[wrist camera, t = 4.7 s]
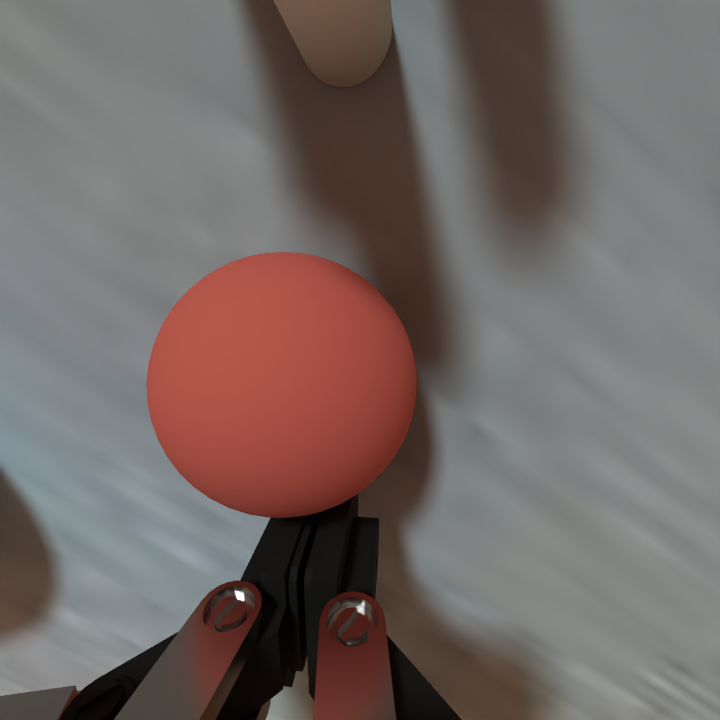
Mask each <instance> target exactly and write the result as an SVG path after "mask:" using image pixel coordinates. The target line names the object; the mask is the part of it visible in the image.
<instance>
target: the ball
mask: <svg viewBox="0 0 720 720" xmlns="http://www.w3.org/2000/svg"><path fill="white" fill-rule="evenodd" d="M416 393H417V372H416V366H415V359H414V354H413V351H412V347H411V344H410V341H409V338H408V335H407V333H406V331H405V328H404V326H403V324H402V322H401V320H400V318H399V317H398V315H397V314H396V312H395V311H394V309H393V307H392V306H391V305H390V304H389V303H388V301H387V300H386V299H385V298H384V297H383V296H382V294H381V293H380V292H379V291H378V290H377V289H376V288H375V287H373V286H372V285H371V284H370V283H369V282H368V281H367V280H365V279H364V278H363V277H361V276H360V275H358V274H356V273H355V272H353V271H352V270H350V269H348V268H346V267H344V266H342V265H340V264H337V263H335V262H332V261H330V260H327V259H325V258H321V257H318V256H313V255H308V254H302V253H287V252H279V253H265V254H258V255H253V256H249V257H246V258H243V259H240V260H237V261H234V262H232V263H229V264H227V265H224V266H222V267H220V268H219V269H217V270H215V271H214V272H212V273H210V274H209V275H207V276H205V277H204V278H202V279H201V280H200V281H199V282H198V283H196V284H195V285H194V286H193V287H192V288H190V289H189V290H188V291H187V292H186V293H185V294H184V295H183V297H182V298H181V299H180V300H179V301H178V302H177V303H176V305H175V306H174V307H173V308H172V310H171V311H170V313H169V315H168V316H167V318H166V319H165V321H164V323H163V325H162V327H161V329H160V331H159V334H158V336H157V338H156V341H155V343H154V345H153V349H152V353H151V357H150V360H149V366H148V375H147V400H148V407H149V412H150V417H151V422H152V424H153V427H154V430H155V433H156V435H157V438H158V441H159V442H160V444H161V446H162V448H163V450H164V452H165V453H166V455H167V457H168V458H169V460H170V461H171V462H172V464H173V465H174V466H175V468H176V469H177V470H178V472H179V473H180V474H181V475H182V476H183V477H184V478H185V479H186V480H187V481H188V482H189V483H190V484H191V485H192V486H193V487H195V488H196V489H198V490H199V491H200V492H202V493H203V494H205V495H206V496H207V497H209V498H210V499H212V500H214V501H216V502H218V503H220V504H222V505H224V506H226V507H228V508H231V509H234V510H237V511H240V512H243V513H247V514H251V515H257V516H264V517H271V518H287V517H298V516H305V515H310V514H314V513H318V512H321V511H324V510H326V509H329V508H332V507H334V506H337V505H339V504H341V503H343V502H345V501H346V500H348V499H350V498H352V497H353V496H355V495H357V494H358V493H360V492H361V491H362V490H363V489H365V488H366V487H367V486H369V485H370V484H371V483H372V482H373V481H374V480H375V479H376V478H377V477H378V476H379V475H380V474H381V473H382V472H383V471H384V470H385V469H386V468H387V466H388V465H389V464H390V462H391V461H392V459H393V458H394V457H395V455H396V454H397V452H398V450H399V448H400V447H401V445H402V443H403V441H404V439H405V437H406V434H407V432H408V429H409V427H410V424H411V421H412V417H413V412H414V408H415V402H416Z"/></svg>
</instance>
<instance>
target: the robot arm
mask: <svg viewBox="0 0 720 720" xmlns="http://www.w3.org/2000/svg"><path fill="white" fill-rule="evenodd" d="M378 545H379V518H367V517H358V494H357V495H355V496H353V497H352V498H350V499H348V500H346V501H345V502H343V503H341V504H339V505H337V506H334V507H332V508H329V509H326V510H324V511H321V512H318V513H314V514H310V515H305V516H298V517H287V518H270V520H269V522H268V524H267V527H266V529H265V531H264V533H263V535H262V537H261V539H260V541H259V543H258V545H257V547H256V549H255V551H254V553H253V555H252V557H251V559H250V561H249V564H248V566H247V568H246V570H245V572H244V574H243V576H242V578H241V580H240V581H232V582H227V583H225V584H222V585H220V586H218V587H216V588H215V589H214V590H212V591H211V592H209V593H208V594H207V596H206V597H205V598H204V599H203V600H202V601H201V602H200V604H199V605H198V606H197V608H196V609H195V611H194V612H193V613H192V615H191V616H190V617H189V619H188V620H187V621H186V623H185V624H184V625H183V627H182V628H181V629H180V631H179V632H177V633H175V634H174V635H172V636H170V637H169V638H167V639H165V640H163V641H162V642H160V643H158V644H156V645H155V646H153V647H151V648H150V649H148V650H146V651H144V652H143V653H141V654H139V655H137V656H136V657H134V658H132V659H131V660H129V661H127V662H125V663H124V664H122V665H120V666H118V667H117V668H115V669H113V670H112V671H110V672H108V673H106V674H105V675H103V676H101V677H99V678H98V679H96V680H95V681H93V682H92V683H91V684H89V685H88V686H86V687H85V688H84V689H83V690H81V691H77V689H76V685H75V686H68V687H61V688H54V689H47V690H40V691H33V692H26V693H18V694H11V695H4V696H0V720H265V719H266V717H267V714H268V711H269V707H270V704H271V698H273V697H274V696H275V695H276V694H278V693H279V692H280V691H281V690H283V686H287V687H292V685H293V681H294V677H295V673H296V671H303V669H304V666H305V662H306V657H308V676H309V693H310V695H311V697H312V698H313V700H314V702H315V704H314V719H313V720H461V719H460V717H459V716H458V715H457V714H456V713H455V712H454V711H453V709H452V708H451V707H450V706H449V705H448V704H447V703H446V702H445V700H444V699H443V698H442V697H441V696H440V695H439V694H438V692H437V691H436V690H435V689H434V688H433V687H432V686H431V684H430V683H429V682H428V681H427V680H426V679H425V678H424V677H423V675H422V674H421V673H420V672H419V671H418V670H417V669H416V667H415V666H414V665H413V664H412V663H411V662H410V661H409V659H408V658H407V657H406V656H405V655H404V654H403V653H402V652H401V650H400V649H399V648H398V647H397V646H396V645H395V644H394V642H393V641H392V640H391V639H390V638H389V637H388V636H387V635H386V626H385V618H384V614H383V611H382V609H381V607H380V606H379V604H378V603H377V601H375V594H376V580H377V566H378Z"/></svg>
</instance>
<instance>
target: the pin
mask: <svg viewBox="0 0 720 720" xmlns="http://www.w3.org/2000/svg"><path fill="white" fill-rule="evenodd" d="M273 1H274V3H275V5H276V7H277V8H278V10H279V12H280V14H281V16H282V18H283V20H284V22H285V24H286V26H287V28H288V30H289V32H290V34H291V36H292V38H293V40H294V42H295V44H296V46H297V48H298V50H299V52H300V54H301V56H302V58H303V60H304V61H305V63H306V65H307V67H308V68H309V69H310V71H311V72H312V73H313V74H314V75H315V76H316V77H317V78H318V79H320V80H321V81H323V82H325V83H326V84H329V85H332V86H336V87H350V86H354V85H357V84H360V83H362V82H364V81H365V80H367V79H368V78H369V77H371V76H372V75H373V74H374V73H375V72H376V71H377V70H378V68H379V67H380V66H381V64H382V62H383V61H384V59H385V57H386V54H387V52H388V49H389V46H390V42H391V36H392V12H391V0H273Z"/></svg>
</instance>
